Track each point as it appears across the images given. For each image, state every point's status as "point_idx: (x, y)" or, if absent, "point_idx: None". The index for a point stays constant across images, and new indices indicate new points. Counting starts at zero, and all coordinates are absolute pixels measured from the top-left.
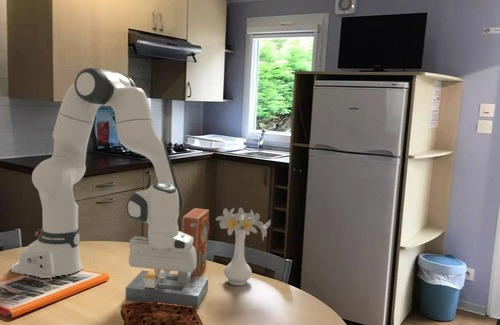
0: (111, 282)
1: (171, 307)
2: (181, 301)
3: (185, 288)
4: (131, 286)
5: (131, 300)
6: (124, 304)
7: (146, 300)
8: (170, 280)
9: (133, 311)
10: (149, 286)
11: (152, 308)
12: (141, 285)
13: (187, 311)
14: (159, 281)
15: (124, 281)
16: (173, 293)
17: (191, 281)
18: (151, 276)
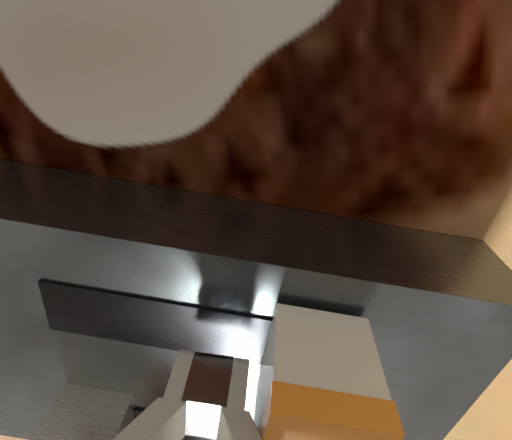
0: None
1: (140, 161)
2: (51, 188)
3: (32, 313)
4: (489, 331)
5: (440, 235)
6: (496, 182)
7: (331, 223)
8: None
9: (427, 63)
10: (324, 319)
11: (273, 134)
12: (395, 348)
13: (7, 108)
14: (231, 369)
15: (467, 427)
16: (87, 231)
17: (47, 397)
18: (315, 421)
